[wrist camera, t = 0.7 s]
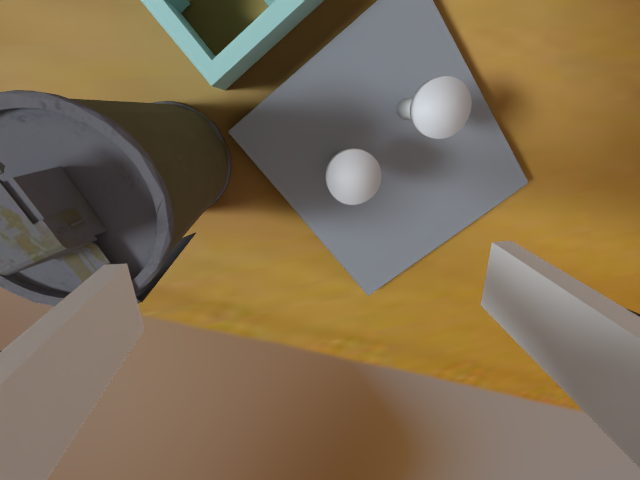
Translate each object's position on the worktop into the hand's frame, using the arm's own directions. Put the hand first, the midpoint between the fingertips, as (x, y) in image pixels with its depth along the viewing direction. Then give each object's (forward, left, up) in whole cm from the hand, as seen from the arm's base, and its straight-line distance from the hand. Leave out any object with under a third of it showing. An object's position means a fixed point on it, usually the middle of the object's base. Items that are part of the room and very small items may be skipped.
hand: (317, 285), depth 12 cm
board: (+4, +8, -22) cm, 24 cm away
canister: (-8, -8, -23) cm, 25 cm away
